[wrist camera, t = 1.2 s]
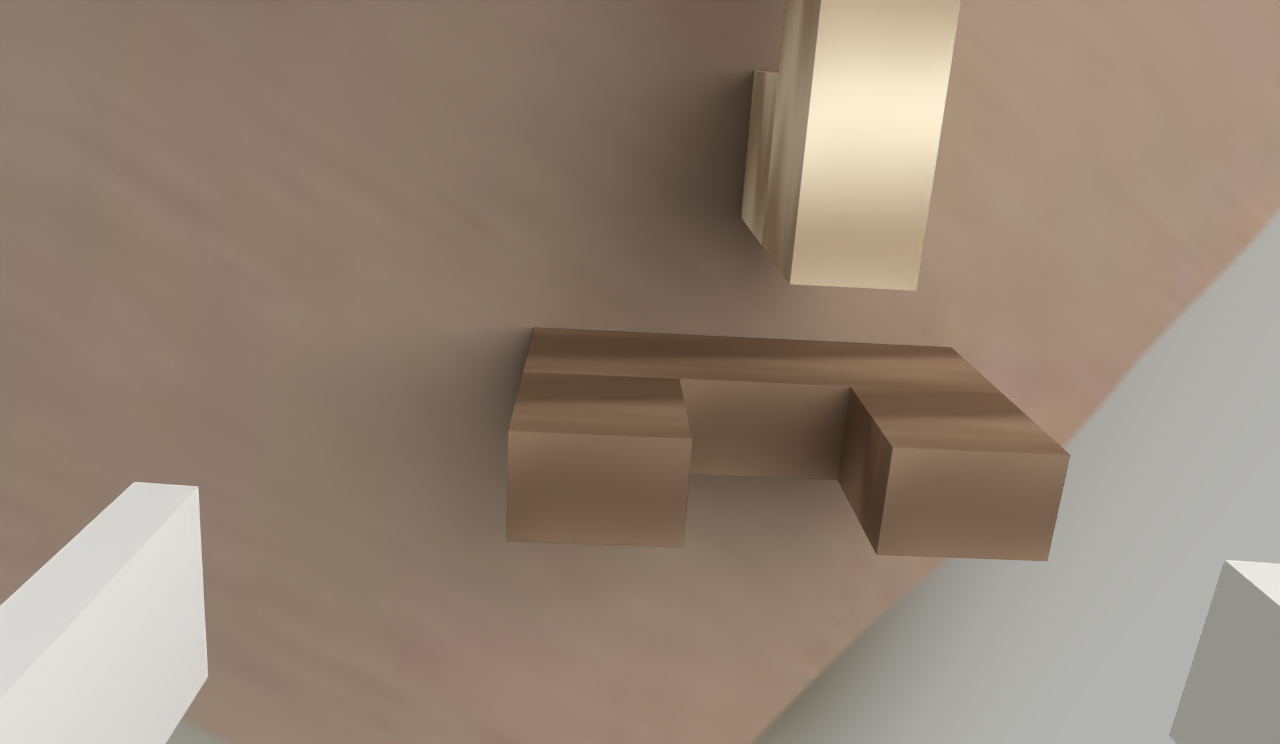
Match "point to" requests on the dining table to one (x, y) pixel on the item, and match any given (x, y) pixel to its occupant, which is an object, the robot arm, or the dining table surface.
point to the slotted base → (774, 440)
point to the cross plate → (849, 140)
